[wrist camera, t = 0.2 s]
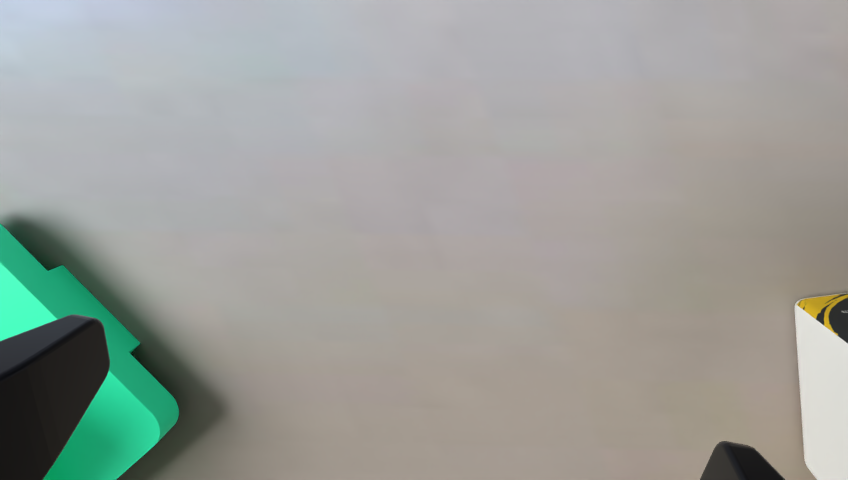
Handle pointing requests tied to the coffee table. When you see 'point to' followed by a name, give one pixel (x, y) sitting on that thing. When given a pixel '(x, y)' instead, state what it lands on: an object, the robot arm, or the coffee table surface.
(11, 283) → the camera mount
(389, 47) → the coffee table surface
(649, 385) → the coffee table surface
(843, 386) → the medicine bottle
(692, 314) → the coffee table surface
